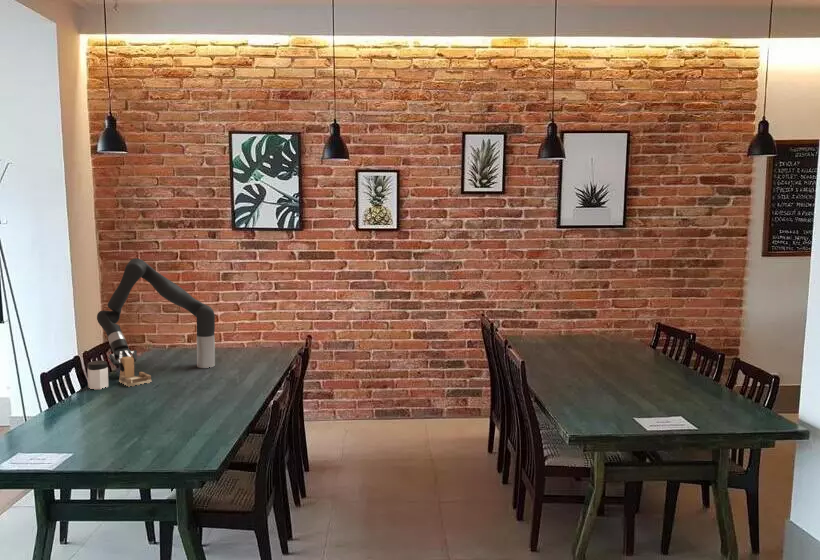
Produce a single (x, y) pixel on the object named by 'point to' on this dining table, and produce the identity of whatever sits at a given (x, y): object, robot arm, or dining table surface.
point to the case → (128, 366)
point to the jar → (97, 374)
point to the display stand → (135, 379)
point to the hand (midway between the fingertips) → (128, 369)
